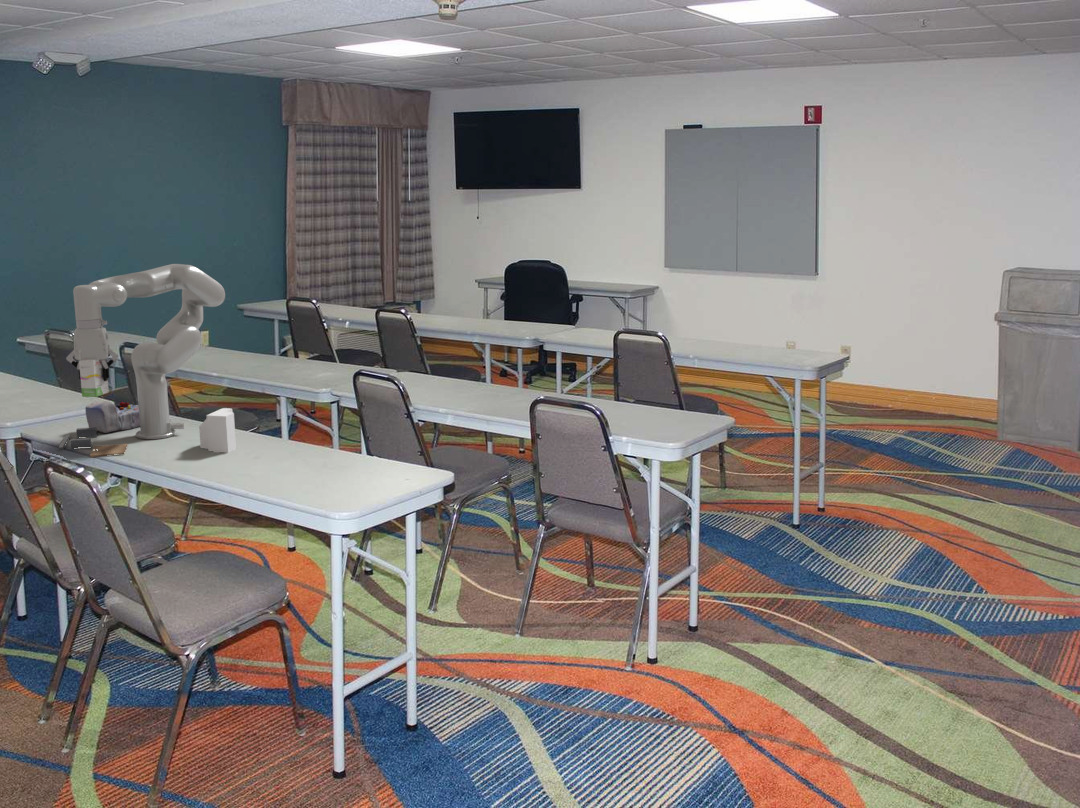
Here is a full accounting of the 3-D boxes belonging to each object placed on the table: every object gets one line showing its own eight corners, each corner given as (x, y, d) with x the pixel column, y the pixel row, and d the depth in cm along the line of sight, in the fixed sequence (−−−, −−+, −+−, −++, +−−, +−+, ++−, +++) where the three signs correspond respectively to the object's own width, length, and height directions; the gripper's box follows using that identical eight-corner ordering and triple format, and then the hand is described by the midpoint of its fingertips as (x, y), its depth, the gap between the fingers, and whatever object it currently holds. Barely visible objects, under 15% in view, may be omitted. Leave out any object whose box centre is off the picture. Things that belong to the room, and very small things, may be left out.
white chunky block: (228, 453, 335) (225, 416, 332) (195, 451, 337) (192, 414, 334) (243, 444, 345) (241, 409, 342) (212, 443, 347) (209, 407, 344)
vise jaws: (97, 435, 356) (96, 427, 355) (90, 448, 340) (90, 439, 339) (66, 437, 353) (65, 429, 352) (58, 450, 337) (57, 441, 336)
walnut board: (127, 445, 343) (127, 443, 343) (124, 454, 332) (123, 453, 332) (94, 447, 340) (94, 445, 340) (89, 457, 329) (89, 455, 329)
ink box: (96, 397, 331) (92, 351, 328) (81, 397, 332) (77, 351, 328) (109, 391, 340) (105, 346, 336) (95, 391, 340) (90, 346, 337)
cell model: (79, 401, 358) (125, 392, 376) (82, 432, 360) (127, 421, 378) (107, 404, 353) (152, 395, 371) (109, 436, 355) (154, 425, 373)
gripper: (120, 322, 336) (125, 377, 340) (62, 323, 332) (68, 379, 336) (116, 325, 329) (121, 381, 333) (57, 327, 325) (63, 384, 329)
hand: (94, 380), depth 335 cm, fingers closed on ink box, 6 cm apart
